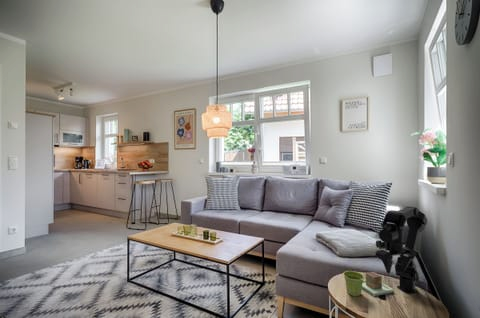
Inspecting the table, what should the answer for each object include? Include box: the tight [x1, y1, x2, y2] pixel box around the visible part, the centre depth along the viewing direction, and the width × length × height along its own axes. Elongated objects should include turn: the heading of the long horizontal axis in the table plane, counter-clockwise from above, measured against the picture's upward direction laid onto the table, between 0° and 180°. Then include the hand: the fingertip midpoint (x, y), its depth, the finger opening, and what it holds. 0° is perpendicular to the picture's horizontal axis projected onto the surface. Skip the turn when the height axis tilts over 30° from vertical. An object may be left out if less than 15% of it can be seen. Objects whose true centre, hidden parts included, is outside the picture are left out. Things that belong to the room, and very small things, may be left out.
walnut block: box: [365, 271, 383, 290], centre depth 122 cm, size 5×5×6 cm
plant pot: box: [342, 270, 366, 297], centre depth 118 cm, size 9×9×9 cm
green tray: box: [361, 278, 394, 297], centre depth 122 cm, size 12×12×2 cm
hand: (395, 271), depth 114 cm, fingers open, 9 cm apart
